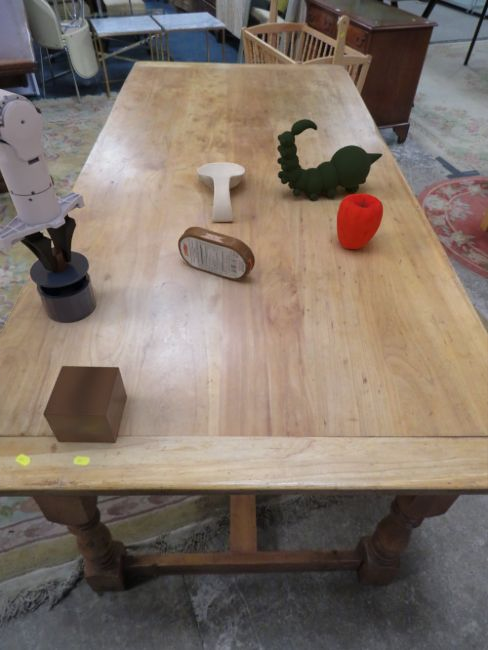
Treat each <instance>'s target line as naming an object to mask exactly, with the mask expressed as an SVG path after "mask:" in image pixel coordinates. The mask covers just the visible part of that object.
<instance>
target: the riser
mask: <svg viewBox="0 0 488 650" xmlns="http://www.w3.org/2000/svg"><path fill="white" fill-rule="evenodd" d="M122 377H123V376H122V373H121V370H120V367H119V366H85V365H83V366H82V365H81V366H78V365H62V366H61V368H60V370H59V373H58V375H57V377H56V380H55V383H54V386H53V387H52V390H51V393H50V396H49V398H48V401H47V402H46V403H47V404H46V405H45V408H44V410H43V413H42V415H43V416H44V419H45V420H46V422H47V424H48V426H49V428H50V429H51V432H52V433H53V435H54V438H55V439H56V441H57V442H58V443H59V442H61V443H62V442H63V443H105V444H106V443H107V444H108V443H109V444H110V443H111V444H113V443H114V444H115V443H117V438H118V434H119V430H120V426H121V421H122V417H123V414H124V409H125V405H126V401H127V397H128V395H127V391H126V388H125V385H124V381H123V378H122Z"/></svg>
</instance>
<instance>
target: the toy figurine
mask: <svg viewBox="0 0 488 650" xmlns="http://www.w3.org/2000/svg"><path fill="white" fill-rule="evenodd" d="M309 129H312V130H314V131H317V130H318V125H317V124H316V123H315V122H314V121H312V120H311V119H307V118H303V119H299V120H297V121H296V122H294V123H293V124H292V126H291V128H290V130H285V131H283V132H282V133H281V134H278V135H277V140H278V141H279V145H277V148H276V149H277V152H279V155H280V156H279V157H278V158H277V160H276V161H277V164H278V165H280V171H278V173H277V178H278V179H280V183H281V184H282V185H287V186H288V188H289V190H292V192H291V193H292V195H293V197H296V198H298V197H300V196H301V195H302V192H303V193H304V194H306V195H308V197H309V199H310V200H312V201H315V200H317V199H318V197H319V194H320V193H321V192H325V194H326V195H327V197H328V198H334V197H335V196H336V195H337V193H338V190H337V189H338V188H339V187H341V188H344V190H345V191H346V192H347V193H349V192H350V193H349V194H356V193H357V192H358V191H359V189H360V186H361V185H364V184H365V183H366V182H367V178H368V176H369V174H370V171H371V166H372V165H373V164H374V163H375V162H377V161H378V160H380V159H381V158H382V157H383V153H379V152H374V153H373V152H367V151H366V149H364V148H363V147H360V146H358V145H354V144H350V145H346V146H342V147H341V148H339V149H338V150H337V151H335V152H334V153H333V155H332V156H331V158H330V160H328V161H322V162H321V163H320V164H318V165H317V166H316V167H309V168H307V169H305V168H303V167H302V165H301V164H300V159H299V156H298V154H297V153H298V148H297V147H298V146H297V144H296V136H300V135H301V134H303V132H305V131H306V130H309Z"/></svg>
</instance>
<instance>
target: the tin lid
mask: <svg viewBox="0 0 488 650" xmlns="http://www.w3.org/2000/svg"><path fill="white" fill-rule="evenodd" d="M52 253H53V257H54V260H55V263H56V266H57V271H56V272H54V273H53V272H51V271H49V270H46V269H45V268H44V266H43V265H42V263H41V262H40V260H39V259H38V258H37V260H35V262H34V263H33V264H32V265H31V267H30V269H29V276H30V278H31V281H32V282H33V283H35V284H36V285H37V284H38V285H40V286H43V287H49V288H56V287H63V286H67V285H70V284H72V283H75V282H77V281H78V280H80V279H81V278H82V277H84V276H85V274H86V273H88V272H89V268H90V263H89V260H88V258H87V257H86V256H85V255H84V254H82V253H81V252H77V251H74V250H71V261H70V262H69V263H68V262H66V260H65V257H64V254H63V251H62V249H61V248H59V247H54V246H53V247H52Z"/></svg>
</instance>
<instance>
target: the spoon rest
mask: <svg viewBox="0 0 488 650" xmlns="http://www.w3.org/2000/svg"><path fill="white" fill-rule="evenodd" d="M196 174H197V176H198V178H199V179H200V180H201V182H202V183H203V184H205V186H207V187H209V188H210V189H211V190H212V191H213V203H212V210H211V211H212V212H211V221H212V222H213V223H214V222H215V223H222V222H223V223H224V222H225V223H228V222H230V223H231V222H233V221H234V212H233V207H232V202H231V194H230V190H232V189H233V188H235V187H237V186H238V185H239V184H240V183H241V182H242V181H243V179H244V177H245V175H246V168H244V166H242V165H241V164H238V163H235V162H229V161H215V162H208V163H204V164H201V166H199V167H198V168H197V170H196ZM231 188H232V189H231ZM229 189H230V190H229Z"/></svg>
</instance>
